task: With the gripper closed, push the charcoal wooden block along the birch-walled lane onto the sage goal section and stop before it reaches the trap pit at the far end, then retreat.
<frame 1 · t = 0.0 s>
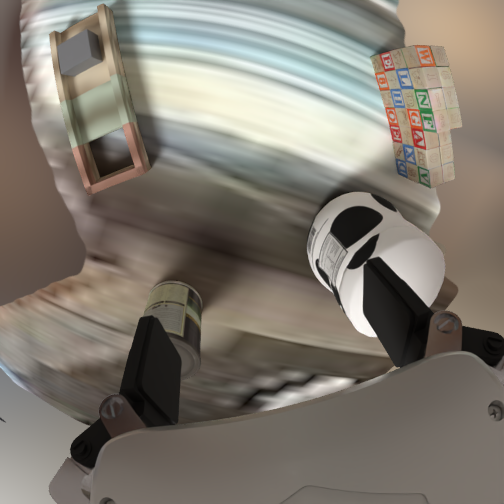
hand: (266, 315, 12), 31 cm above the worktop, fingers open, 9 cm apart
block: (85, 55, 25), point 2 cm above the worktop, touching lane
milk container: (347, 233, 46), on the worktop
lane: (99, 95, 31), on the worktop
coffee can: (175, 302, 49), on the worktop
stack of blocks: (399, 113, 37), on the worktop
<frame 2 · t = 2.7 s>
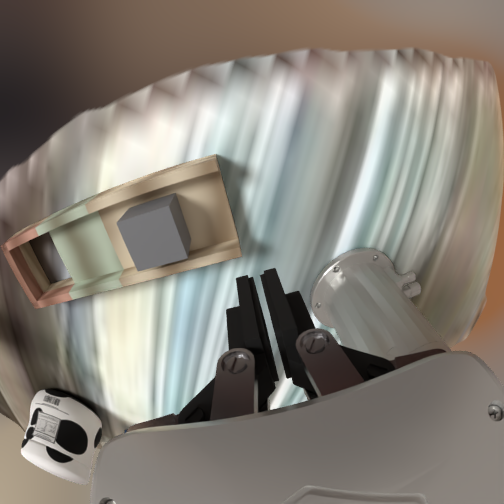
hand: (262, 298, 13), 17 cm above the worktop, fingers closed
block: (160, 223, 26), point 2 cm above the worktop, touching lane
milk container: (70, 404, 44), on the worktop
lane: (108, 234, 28), on the worktop
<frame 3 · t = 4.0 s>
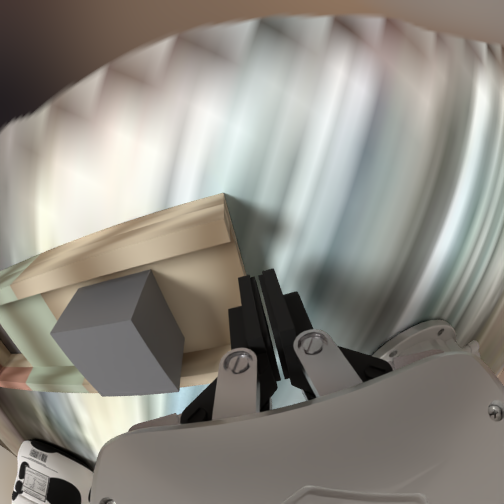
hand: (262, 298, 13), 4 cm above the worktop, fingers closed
block: (130, 314, 15), point 2 cm above the worktop, touching lane
milk container: (60, 453, 32), on the worktop
lane: (63, 311, 16), on the worktop
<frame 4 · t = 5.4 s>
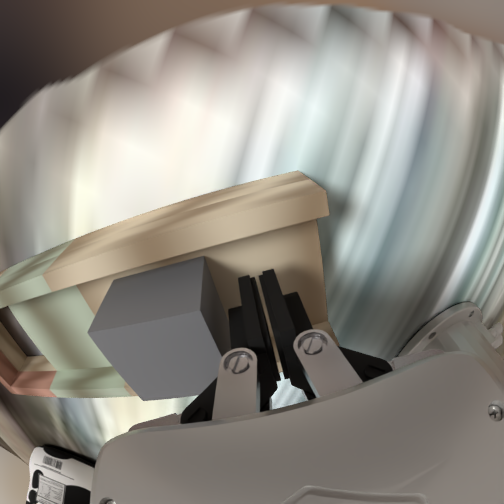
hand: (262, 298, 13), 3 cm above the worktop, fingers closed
block: (174, 307, 14), point 2 cm above the worktop, touching gripper
milk container: (74, 458, 32), on the worktop
lane: (97, 305, 16), on the worktop
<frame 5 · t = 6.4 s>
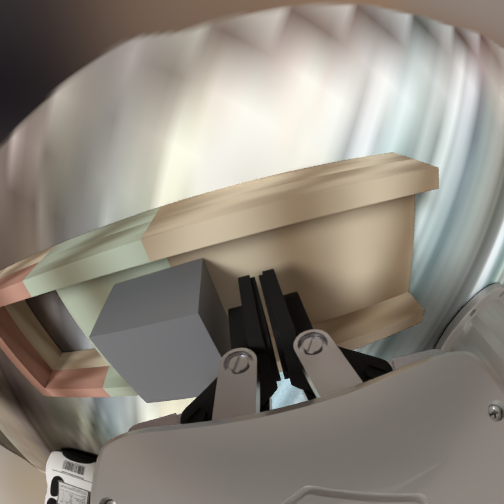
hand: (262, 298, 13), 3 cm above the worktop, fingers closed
block: (175, 309, 14), point 2 cm above the worktop, touching gripper, lane
milk container: (93, 461, 32), on the worktop
lane: (174, 286, 16), on the worktop
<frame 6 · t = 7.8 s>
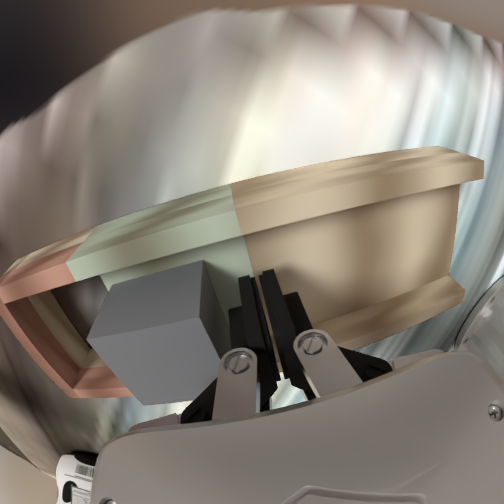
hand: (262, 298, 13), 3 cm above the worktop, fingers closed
block: (173, 311, 14), point 2 cm above the worktop, touching gripper, lane
milk container: (106, 464, 31), on the worktop
lane: (234, 269, 15), on the worktop
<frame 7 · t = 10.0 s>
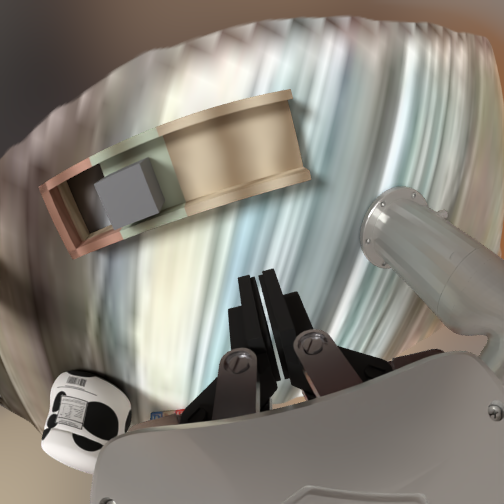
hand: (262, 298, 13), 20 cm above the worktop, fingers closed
block: (135, 187, 26), point 2 cm above the worktop, touching lane
milk container: (94, 388, 44), on the worktop
lane: (167, 168, 28), on the worktop
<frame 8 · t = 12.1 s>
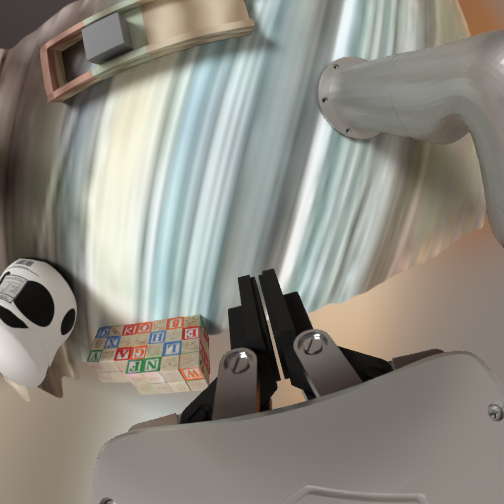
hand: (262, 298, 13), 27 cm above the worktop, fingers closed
block: (112, 42, 24), point 2 cm above the worktop, touching lane
milk container: (46, 289, 41), on the worktop
lane: (141, 33, 25), on the worktop
stack of blocks: (151, 332, 48), on the worktop
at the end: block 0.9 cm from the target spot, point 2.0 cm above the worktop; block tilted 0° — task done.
